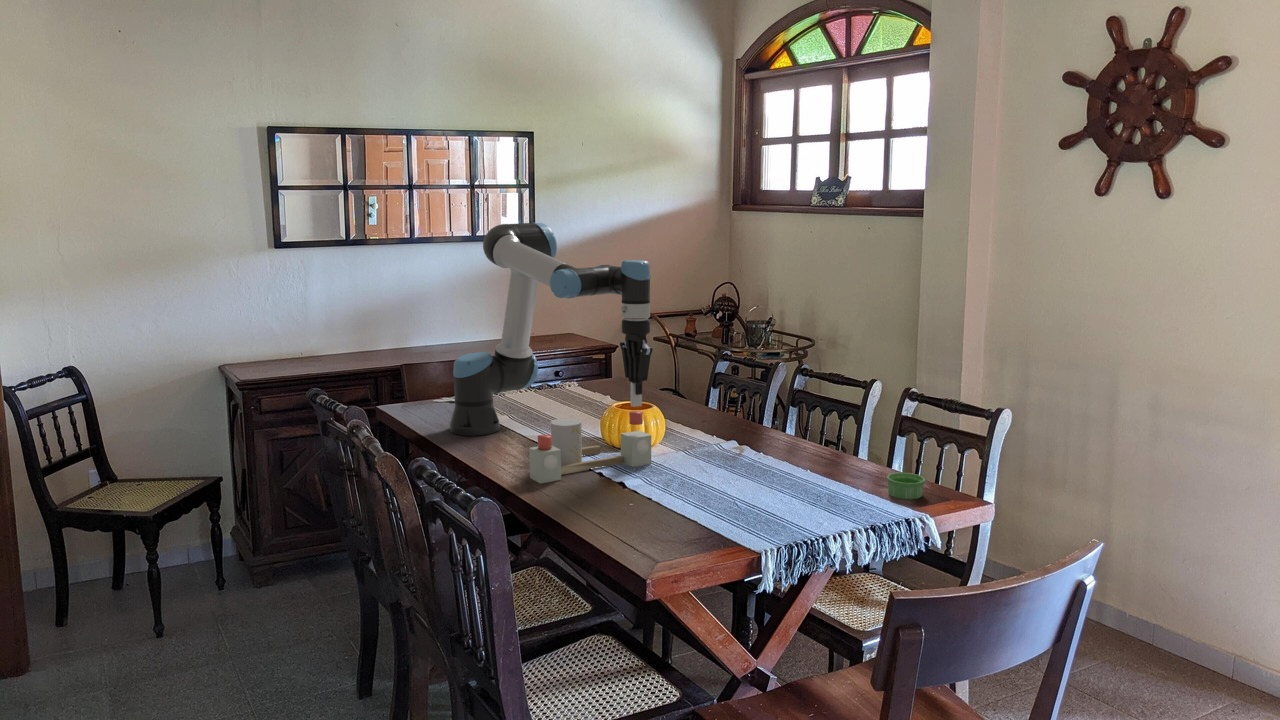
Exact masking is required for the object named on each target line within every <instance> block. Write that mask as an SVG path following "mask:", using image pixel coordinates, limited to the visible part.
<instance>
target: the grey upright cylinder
mask: <svg viewBox="0 0 1280 720" xmlns="http://www.w3.org/2000/svg"><path fill="white" fill-rule="evenodd" d="M550 431H551V432H550V435H551V436H552V446H554V447H556V448H558V449H560V450H561V465H567V464H573V463H579V462H583V456H582V448H583V445H582V444H583V440H582V439H583V437H582V436H583V435H582V420H580V419H576V418H569V417H568V418H557V419H553V420H552V421H550Z"/></svg>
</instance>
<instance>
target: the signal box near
mask: <svg viewBox="0 0 1280 720" xmlns="http://www.w3.org/2000/svg"><path fill="white" fill-rule="evenodd" d="M528 451H529V452H528V453H529V454H528V455H529V478H530V479H531V480H533V481H534V482H537V483H538V484H547V483H551V482H557V481H561V480H562V475H561V450H560V449H558V448H556V447H554V446H552V448H551V449H546V450H543V449H538V445H537V446H532V447H529V448H528Z"/></svg>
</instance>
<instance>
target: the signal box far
mask: <svg viewBox="0 0 1280 720" xmlns="http://www.w3.org/2000/svg"><path fill="white" fill-rule="evenodd" d="M620 456H622V457H623V464H624V463H625V465H627V466H629V467H631V466H632V467H631V468H635V467H640V466H641V467H642V466H647V465H651V464H652V435H651V434H650V433H646V432H644V431H642V430H635V431H627V432H621V433H620Z"/></svg>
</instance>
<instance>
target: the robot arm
mask: <svg viewBox="0 0 1280 720" xmlns="http://www.w3.org/2000/svg"><path fill="white" fill-rule="evenodd" d="M482 247H483V248H482V249H483V253H484V255H485V256H486V258H487V259H488V260H489V262H491V263H492V264H494V265H496V266H498V267H500V268H503V269H509V270H510V275H509V276H510V278H509V285H508V291H507V298H506V305H505V312H504V313H505V314H504V318H503V319H504V320H503V327H502V334H501V341H500V342H499V343H498V344H496V345H495V347H494V349H495V350H494V355H493V354H492V353H490V352H488V351H487V352H486V351H478V352H469V353H465V354H462V355H460V356H459V357H456V359H455V360H454V362H453V371H452V375H453V389H454V391H453V392H454V407H453V412H452V414H451V419H450V420H449V421H450V422H449V432H451V434H454V435H458V436H467V437H468V436H470V437H471V436H473V437H474V436H484V435H489V434H493V433H496V432H498V431H500V429H501V427H500V420H499V417H498V413H497V412H496V408H495V406H494V394H500V393H505V392H512V391H520V390H523V389H526V388H529V387H530V386H532V385H533V384H534V383H535V381H536V379H537V376H538V371H539V364H537V363H538V360H537V357H536V356H535V355H534V353H533V349H532V348H531V347H530V340H531V333H532V328H533V327H532V326H533V320H534V315H535V307H536V301H537V295H538V293H537V292H538V287H539V283H541V284H543V285H546V286H547V287H550V290H551V293H553V295H554V296H555V297H556V298H559V299H573V298H582V297H590V296H599V295H600V296H601V295H620V296H621V308H620V309H621V318H623V319H622V320H621V333H622V334H623V335H625V337H624V341H620V342H619V346H620V349H621V353H622V362H623V369H624V376H625V378H626V379H627V380H628V381H629V391H630V392H629V393H630V397H629V398H630V406H631V407H633V408H635V407H642V406H643V383H644V382H647V381H648V377H649V369H650V362H651V356H652V353H653V351H654V349H653V347H652V346H649V345H648V339H647V335H649V334H650V332H651V320H650V319H649V318H650V317H651V269H650V267H651V266H650V263H649V261H648V260H643V259H626V260H623V261H621V266H618V265H617V266H616V265H610V264H601V265H600V264H599V265H596V266H591V267H575V266H573V265H569V264H567V263H566V262H563V261H561V260H559V259H557V258H555V257H556V255H557V251H558V243H557V239H556V236H555V234H554V232H553V230H552V228H550V227H549V226H548V225H547V224H546V223H543V222H542V223H541V222H524V223H522V222H521V223H502V224H498V225H495V226H493V227H492V228H490V229H489V230H488V232H487V233H486V234H485V236H484V238H483V242H482Z"/></svg>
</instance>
